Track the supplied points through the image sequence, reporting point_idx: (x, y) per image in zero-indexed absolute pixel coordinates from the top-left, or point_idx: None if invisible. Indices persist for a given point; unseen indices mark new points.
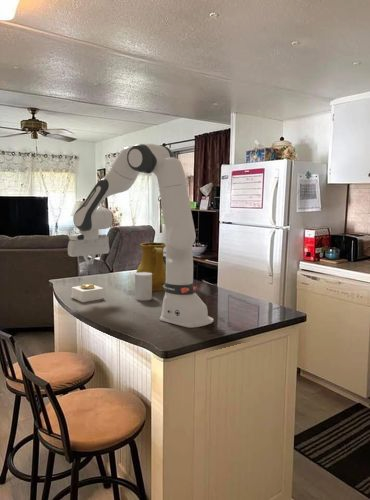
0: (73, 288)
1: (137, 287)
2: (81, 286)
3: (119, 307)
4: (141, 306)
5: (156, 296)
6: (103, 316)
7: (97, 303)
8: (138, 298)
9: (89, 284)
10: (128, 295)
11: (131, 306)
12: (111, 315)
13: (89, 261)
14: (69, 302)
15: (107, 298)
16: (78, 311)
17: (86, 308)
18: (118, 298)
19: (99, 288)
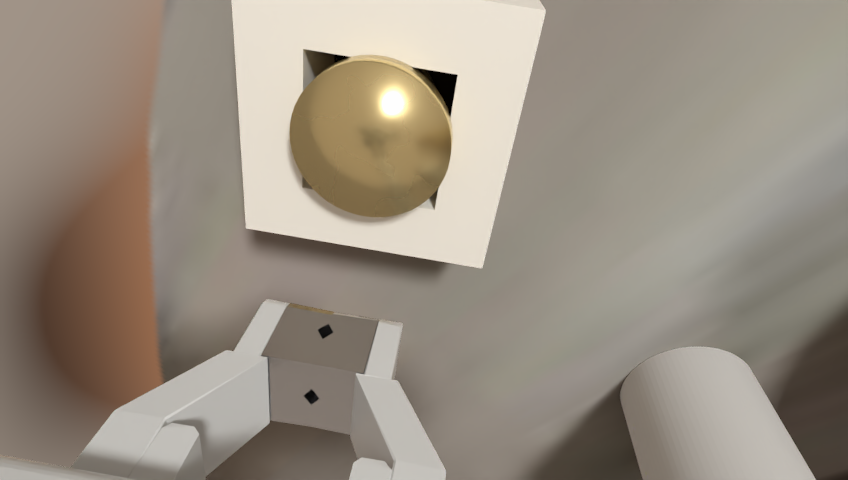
0: (235, 23)
1: (644, 473)
2: (291, 128)
3: None
4: (506, 471)
5: (789, 420)
6: (242, 449)
7: (355, 279)
8: (622, 406)
9: (413, 128)
10: (706, 277)
11: (468, 442)
12: (282, 461)
13: (286, 414)
14: (189, 108)
15: (510, 229)
16: (165, 325)
17: (233, 313)
18: (569, 286)
19: (448, 246)
